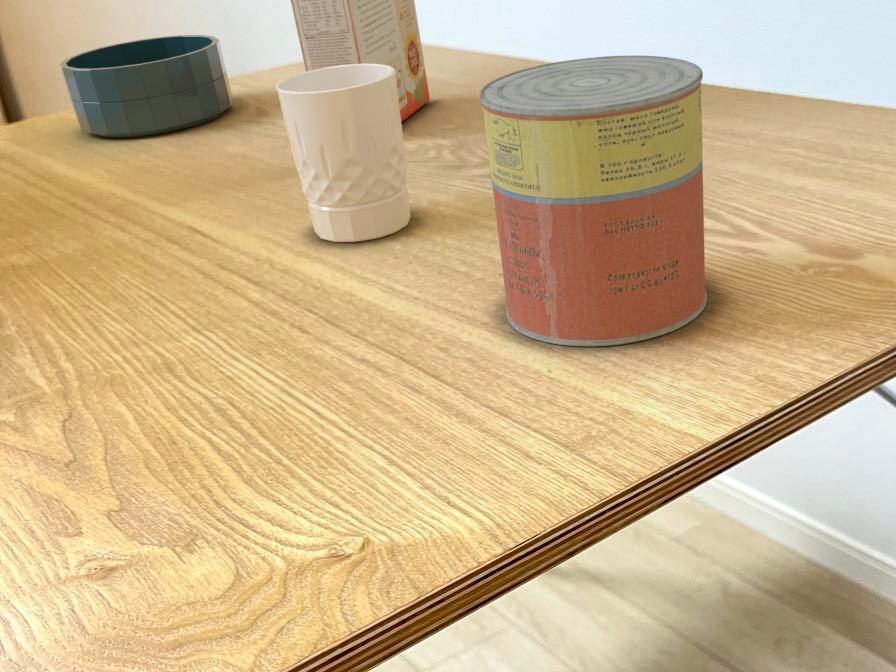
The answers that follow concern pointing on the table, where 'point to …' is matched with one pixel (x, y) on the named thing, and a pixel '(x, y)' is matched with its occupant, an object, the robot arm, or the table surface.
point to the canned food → (599, 197)
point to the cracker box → (365, 41)
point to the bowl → (148, 85)
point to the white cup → (348, 149)
